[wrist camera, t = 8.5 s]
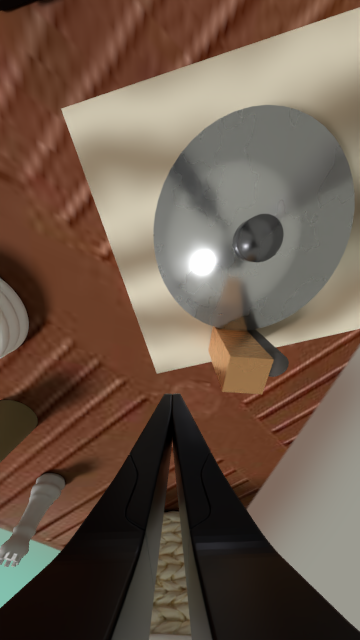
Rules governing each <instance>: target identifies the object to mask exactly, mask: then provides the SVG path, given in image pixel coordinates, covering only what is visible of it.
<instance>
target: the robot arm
mask: <svg viewBox="0 0 360 640" xmlns="http://www.w3.org/2000/svg"><path fill="white" fill-rule="evenodd" d="M27 1H29V0H0V11H3V10H6V9H9V8H11V7H14V6H16V5H19V4H21V3H24V2H27ZM172 441H173V453H174V463H175V473H176V484H177V494H178V504H179V514H180V524H181V535H182V545H183V555H184V565H185V575H186V586H187V596H188V606H189V616H190V627H191V637H192V640H360V631H358V630H357V629H356V628H355V627H354V626H353V625H352V624H350V623H349V622H348V621H347V620H346V619H345V618H344V617H343V616H342V615H341V614H340V613H339V612H338V611H337V610H336V609H335V608H334V607H333V606H332V605H331V604H330V603H329V602H328V601H327V600H326V599H325V598H324V597H323V596H322V595H321V594H319V592H317V591H316V590H315V589H314V588H313V587H312V586H311V585H310V584H309V583H308V582H307V581H306V580H305V579H304V578H303V577H302V576H301V575H300V574H299V573H298V572H297V571H296V570H295V569H294V568H293V567H292V566H291V565H289V563H288V562H286V561H285V559H283V558H282V557H281V556H280V555H279V554H278V552H276V550H275V549H274V548H273V547H272V545H270V543H269V542H268V540H267V539H266V538H265V536H264V535H263V534H262V533H261V531H260V530H259V528H258V527H257V525H256V524H255V522H254V521H253V519H252V518H251V516H250V515H249V513H248V512H247V510H246V509H245V507H244V506H243V504H242V503H241V501H240V500H239V498H238V497H237V495H236V494H235V492H234V491H233V489H232V487H231V486H230V484H229V483H228V481H227V479H226V478H225V476H224V475H223V473H222V471H221V469H220V468H219V466H218V464H217V462H216V460H215V459H214V457H213V455H212V453H211V451H210V449H209V447H208V445H207V444H206V442H205V440H204V438H203V436H202V434H201V432H200V430H199V428H198V426H197V425H196V423H195V421H194V419H193V417H192V415H191V413H190V411H189V409H188V407H187V406H186V404H185V402H184V400H183V398H182V396H181V394H173V395H172V394H164V396H163V397H162V399H161V401H160V402H159V404H158V406H157V408H156V409H155V411H154V413H153V414H152V416H151V418H150V420H149V421H148V423H147V425H146V426H145V428H144V430H143V431H142V433H141V435H140V437H139V438H138V440H137V442H136V443H135V445H134V447H133V448H132V450H131V452H130V455H128V457H127V459H126V460H125V462H124V464H123V465H122V467H121V469H120V470H119V472H118V473H117V475H116V477H115V478H114V480H113V481H112V482H111V484H110V485H109V487H108V488H107V490H106V491H105V493H104V494H103V495H102V497H101V498H100V500H99V501H98V502H97V504H96V505H95V507H94V508H93V509H92V511H91V512H90V514H89V515H88V516H87V518H86V519H85V520H84V522H83V523H82V525H81V526H80V527H79V529H78V530H77V532H76V533H75V534H74V536H73V537H72V538H71V540H70V541H69V542H68V544H67V545H66V546H65V547H64V549H63V550H62V551H61V552H60V553H59V554H58V555H57V556H56V558H54V560H53V561H52V562H51V563H50V564H48V565H47V566H46V567H45V568H44V569H43V570H42V571H41V572H40V573H39V574H38V575H36V576H35V577H34V578H33V579H32V580H31V581H30V582H29V583H28V584H26V585H25V586H24V587H23V588H22V589H21V590H20V591H19V592H18V593H17V594H15V595H14V596H13V597H12V598H11V599H10V600H9V601H8V602H7V603H6V604H4V605H3V606H2V607H1V608H0V640H149V634H150V626H151V617H152V609H153V600H154V591H155V583H156V575H157V566H158V558H159V549H160V541H161V532H162V524H163V515H164V507H165V498H166V490H167V482H168V473H169V465H170V456H171V448H172Z"/></svg>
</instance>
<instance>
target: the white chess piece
mask: <svg viewBox="0 0 360 640" xmlns="http://www.w3.org/2000/svg"><path fill="white" fill-rule="evenodd" d="M64 487H65V480H64V478H63V477H62V476H60V475H58V474H55V473H46V474H43V475H42V476H40V477H39V478H37V480H36V484H35V485H34V486H33V488H32V490H31V496H30V498H29V500H30V501H29V504H28V506H27V508H26V510H25V512H24V514H23V516H22V518H21V520H20V522H19V523H18V525H17V526H16V527H15V528H14V529H13V534H12V536H11V537H10V539H9V540H8V541H6V542H5V543H4V544H3V545H2V546H1V548H0V565H1V564H2V563H3V561H4V559H6V560H7V561H6V563H5V565H4V566H6V567H8V566H9V564H10V562H11V561H13V564H12V565H11V566H12V567H14V566H16V565H18V564H19V562H20V560H21V558H23V556H24V555H26V554H27V553H28V551H29V541H30V539H31V537H32V536H33V535H35V533H36V528H37V526H38V524H39V522H40V521H41V519H42V517H43V516H44V514H45V512H46V511H47V509H48V508H49V507H50V505H52V504H53V502H54V501H55V500H56V499H58V497H59V496H60V494H61V490H62V489H64Z"/></svg>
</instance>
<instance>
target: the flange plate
mask: <svg viewBox="0 0 360 640" xmlns="http://www.w3.org/2000/svg"><path fill="white" fill-rule="evenodd" d="M354 209H355V193H354V185H353V178H352V174H351V170H350V167H349V163H348V161H347V159H346V156H345V154H344V152H343V150H342V148H341V146H340V145H339V143H338V142H337V140H336V139H335V137H334V136H333V135H332V134H331V133H330V132H329V131H328V129H327V128H326V127H325V126H324V125H323V124H321V123H320V122H318V121H317V120H316V119H314V118H313V117H312V116H310V115H308V114H306V113H303V112H301V111H299V110H297V109H293V108H289V107H285V106H277V105H261V106H252V107H248V108H244V109H241V110H238V111H234V112H232V113H230V114H228V115H226V116H224V117H222V118H220V119H218V120H217V121H215V122H214V123H212V124H211V125H209V126H208V127H206V128H205V129H204V130H203V131H202V132H200V133H199V134H198V135H197V136H196V137H195V138H194V139H193V140H192V141H191V142H190V143H189V144H188V145H187V147H186V148H185V149H184V150H183V151H182V153H181V154H180V155H179V157H178V158H177V160H176V161H175V163H174V165H173V166H172V168H171V169H170V172H169V174H168V176H167V178H166V180H165V182H164V184H163V187H162V190H161V193H160V196H159V198H158V203H157V207H156V212H155V219H154V229H153V233H154V250H155V257H156V261H157V265H158V269H159V272H160V274H161V277H162V279H163V282H164V284H165V285H166V287H167V289H168V291H169V293H170V294H171V295H172V297H173V298H174V299H175V301H176V302H177V303H178V304H179V305H180V306H181V307H182V308H183V309H184V310H185V311H186V312H188V313H189V314H190V315H191V316H193V317H194V318H196V319H198V320H199V321H201V322H203V323H206V324H208V325H210V326H213V327H212V333H211V338H210V344H209V349H208V351H209V354H210V357H211V360H212V363H213V366H214V369H215V372H216V375H217V378H218V381H219V384H220V387H221V390H222V392H236V393H252V394H262V393H263V390H264V387H265V384H266V381H267V378H268V375H269V373H270V370H271V367H272V364H273V361H274V359H273V358H272V357H271V356H270V355H269V354H268V353H267V352H266V351H265V349H264V348H263V347H262V346H261V345H260V344H259V343H258V342H257V341H256V340H255V339H254V338H253V337H252V336H251V335H250V334H249V332H248V331H247V330H253V329H258V328H262V327H266V326H269V325H272V324H275V323H277V322H279V321H281V320H283V319H285V318H287V317H289V316H291V315H292V314H294V313H296V312H297V311H298V310H300V309H301V308H302V307H304V306H305V305H306V304H307V303H308V302H309V301H311V300H312V299H313V298H314V297H315V296H316V295H317V294H318V292H319V291H320V290H321V289H322V288H323V287H324V286H325V284H326V283H327V282H328V280H329V279H330V277H331V276H332V274H333V273H334V271H335V269H336V268H337V266H338V264H339V262H340V260H341V258H342V256H343V254H344V252H345V249H346V246H347V243H348V240H349V237H350V233H351V229H352V224H353V217H354Z"/></svg>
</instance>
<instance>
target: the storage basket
mask: <svg viewBox="0 0 360 640" xmlns="http://www.w3.org/2000/svg"><path fill="white" fill-rule="evenodd" d="M149 640H192V637H191V627H190V616H189V606H188V596H187V586H186V575H185V565H184V555H183V545H182V535H181V524H180V514H179V511H170V512H167V513H164V515H163V524H162V532H161V541H160V549H159V558H158V566H157V575H156V583H155V591H154V600H153V609H152V617H151V626H150V634H149Z"/></svg>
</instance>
